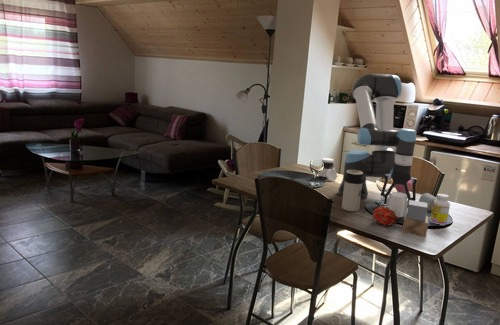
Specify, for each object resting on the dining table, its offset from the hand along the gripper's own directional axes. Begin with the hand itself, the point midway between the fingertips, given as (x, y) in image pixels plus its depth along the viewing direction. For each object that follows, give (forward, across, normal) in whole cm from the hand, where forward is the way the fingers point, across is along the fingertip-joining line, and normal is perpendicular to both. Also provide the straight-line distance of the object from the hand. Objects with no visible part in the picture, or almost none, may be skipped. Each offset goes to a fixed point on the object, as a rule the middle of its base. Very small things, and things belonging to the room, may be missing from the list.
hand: (395, 212), depth 190 cm
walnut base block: (+1, +8, -17) cm, 19 cm away
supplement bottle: (+1, +18, -1) cm, 18 cm away
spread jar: (+1, -40, +49) cm, 63 cm away
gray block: (-5, +8, -17) cm, 19 cm away
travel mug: (+1, -20, -2) cm, 20 cm away
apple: (+1, +2, +39) cm, 39 cm away
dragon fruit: (+1, -4, -15) cm, 16 cm away
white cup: (+1, 0, 0) cm, 1 cm away
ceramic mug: (+1, +16, +18) cm, 24 cm away
